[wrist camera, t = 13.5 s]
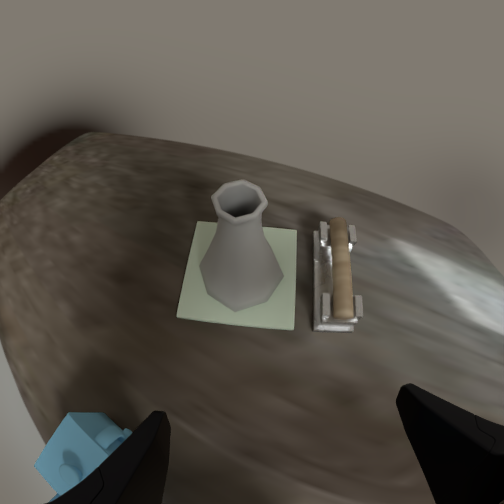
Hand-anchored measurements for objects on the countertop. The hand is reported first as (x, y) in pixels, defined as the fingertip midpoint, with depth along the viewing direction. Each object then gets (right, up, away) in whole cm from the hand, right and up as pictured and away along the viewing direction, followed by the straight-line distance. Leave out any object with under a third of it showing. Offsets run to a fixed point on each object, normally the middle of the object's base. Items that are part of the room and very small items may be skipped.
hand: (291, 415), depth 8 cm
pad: (-2, +4, +17) cm, 17 cm away
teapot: (-14, -13, +7) cm, 20 cm away
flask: (-2, +4, +16) cm, 17 cm away
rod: (+6, +4, +15) cm, 16 cm away
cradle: (+6, +3, +16) cm, 18 cm away
